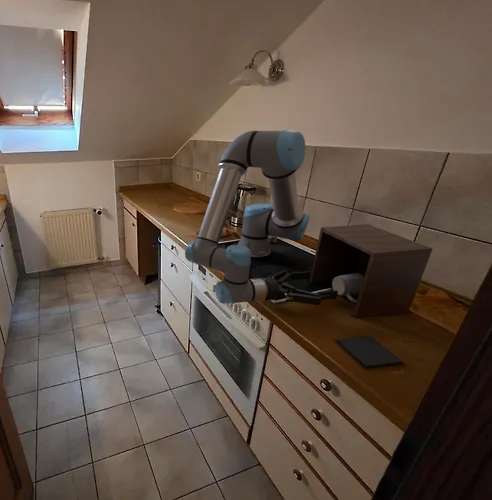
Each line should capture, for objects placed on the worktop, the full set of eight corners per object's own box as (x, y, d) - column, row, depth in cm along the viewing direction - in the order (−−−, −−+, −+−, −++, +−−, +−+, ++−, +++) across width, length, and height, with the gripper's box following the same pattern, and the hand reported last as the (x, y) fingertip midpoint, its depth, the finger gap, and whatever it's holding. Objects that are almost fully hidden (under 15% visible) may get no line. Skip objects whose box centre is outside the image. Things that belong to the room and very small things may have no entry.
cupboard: (309, 281, 115) (320, 227, 106) (352, 278, 117) (367, 224, 108) (355, 317, 93) (375, 253, 85) (408, 312, 95) (432, 248, 86)
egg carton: (255, 236, 162) (256, 229, 160) (269, 235, 162) (270, 228, 160) (263, 243, 152) (264, 236, 150) (278, 242, 152) (279, 235, 151)
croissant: (229, 238, 170) (228, 224, 170) (238, 235, 160) (236, 221, 160) (194, 241, 166) (192, 227, 167) (200, 238, 156) (199, 223, 157)
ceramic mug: (328, 289, 109) (333, 271, 106) (348, 287, 110) (353, 269, 107) (350, 306, 99) (356, 286, 96) (372, 303, 100) (379, 283, 97)
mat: (336, 341, 84) (337, 339, 83) (369, 338, 85) (370, 335, 84) (365, 368, 75) (366, 365, 74) (401, 363, 75) (402, 361, 75)
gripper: (245, 281, 112) (298, 276, 114) (280, 320, 90) (346, 314, 91) (247, 263, 110) (302, 259, 111) (284, 299, 87) (352, 293, 89)
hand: (322, 284), depth 101 cm, fingers open, 13 cm apart
